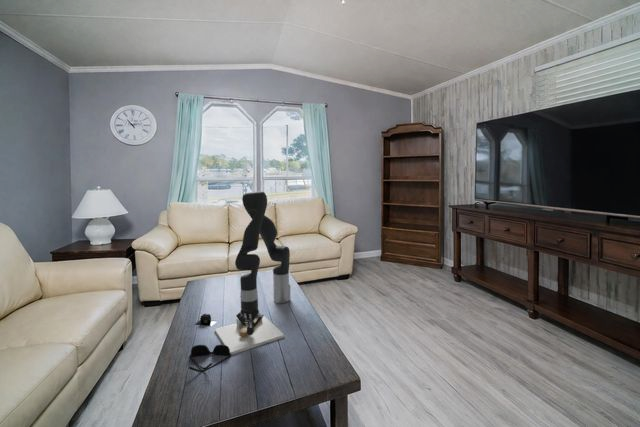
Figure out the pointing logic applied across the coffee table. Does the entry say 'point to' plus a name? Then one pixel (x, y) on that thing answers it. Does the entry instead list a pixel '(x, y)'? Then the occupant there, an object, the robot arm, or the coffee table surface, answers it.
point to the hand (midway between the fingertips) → (250, 334)
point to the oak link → (244, 331)
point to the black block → (206, 320)
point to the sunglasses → (203, 350)
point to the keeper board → (261, 335)
